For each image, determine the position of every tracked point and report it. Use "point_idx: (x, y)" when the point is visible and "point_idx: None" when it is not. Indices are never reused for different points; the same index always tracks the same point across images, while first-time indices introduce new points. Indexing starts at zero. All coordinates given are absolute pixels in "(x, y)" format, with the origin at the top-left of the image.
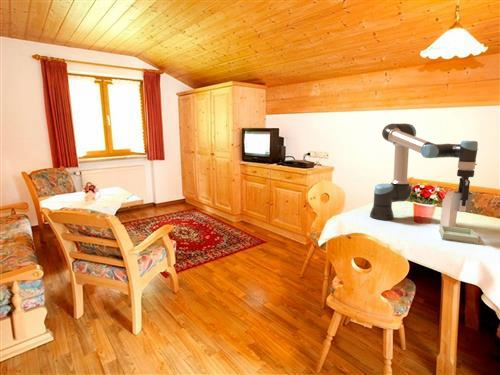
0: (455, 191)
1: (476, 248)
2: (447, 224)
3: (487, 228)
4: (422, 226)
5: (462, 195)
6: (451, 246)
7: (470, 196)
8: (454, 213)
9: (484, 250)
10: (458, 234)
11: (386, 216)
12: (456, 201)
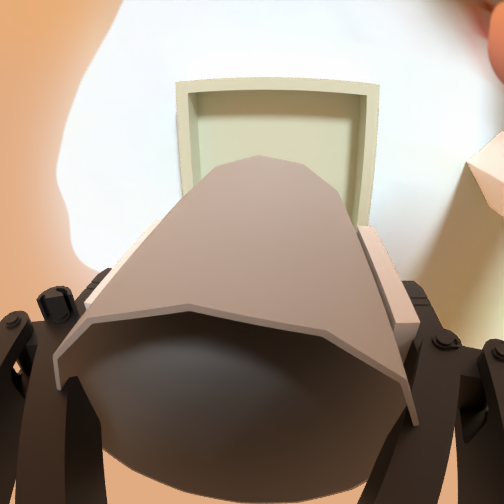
0: (371, 362)
1: (132, 224)
2: (477, 161)
3: (467, 328)
4: (421, 10)
5: (3, 355)
6: (99, 125)
7: (153, 443)
8: None
9: (126, 249)
10: None
11: None
12: (150, 234)
